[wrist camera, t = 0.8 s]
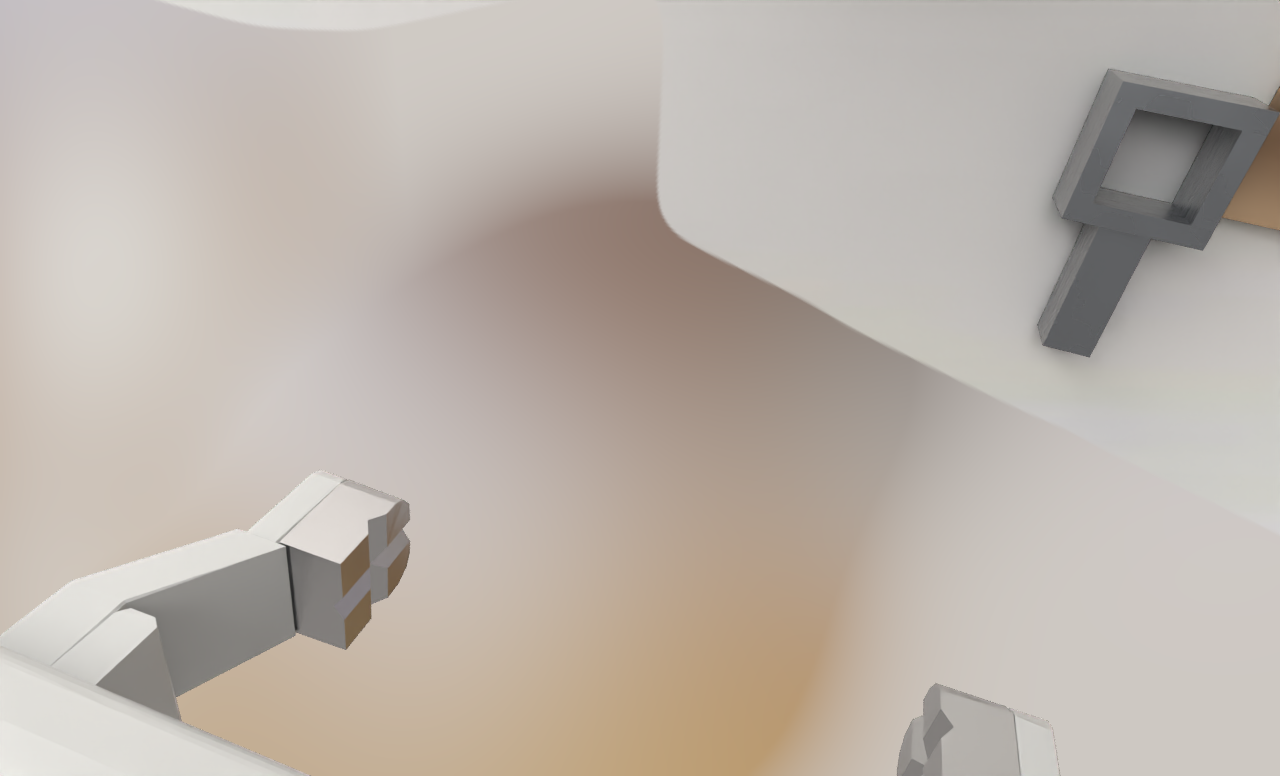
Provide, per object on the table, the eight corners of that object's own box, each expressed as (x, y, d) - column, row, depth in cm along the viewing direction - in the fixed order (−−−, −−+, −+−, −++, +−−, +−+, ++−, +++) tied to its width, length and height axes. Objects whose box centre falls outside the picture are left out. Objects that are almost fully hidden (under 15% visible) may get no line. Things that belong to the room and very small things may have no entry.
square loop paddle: (1108, 68, 39) (1123, 81, 36) (1252, 97, 37) (1279, 112, 35) (1000, 315, 46) (1005, 342, 43) (1119, 345, 45) (1132, 375, 42)
